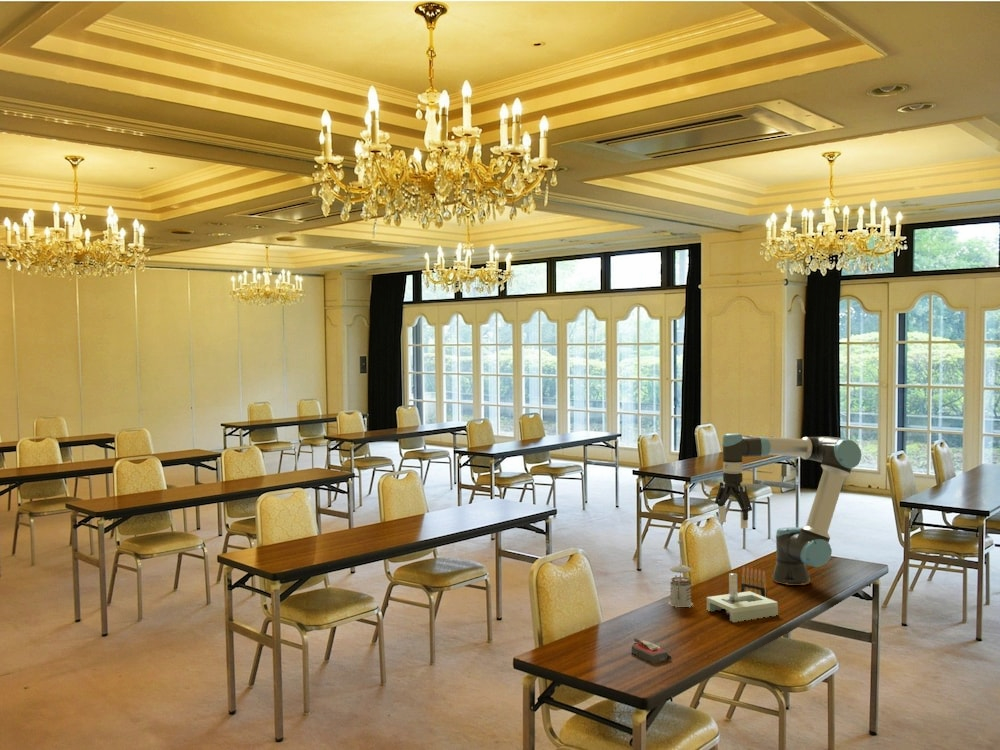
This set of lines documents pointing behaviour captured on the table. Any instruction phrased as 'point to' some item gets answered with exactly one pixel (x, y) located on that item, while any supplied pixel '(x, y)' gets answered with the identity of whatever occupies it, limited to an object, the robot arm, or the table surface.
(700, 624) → the table surface
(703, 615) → the table surface
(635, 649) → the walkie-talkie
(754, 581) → the ammunition clip
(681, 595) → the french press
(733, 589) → the steel peg
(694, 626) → the table surface
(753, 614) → the keyhole board
